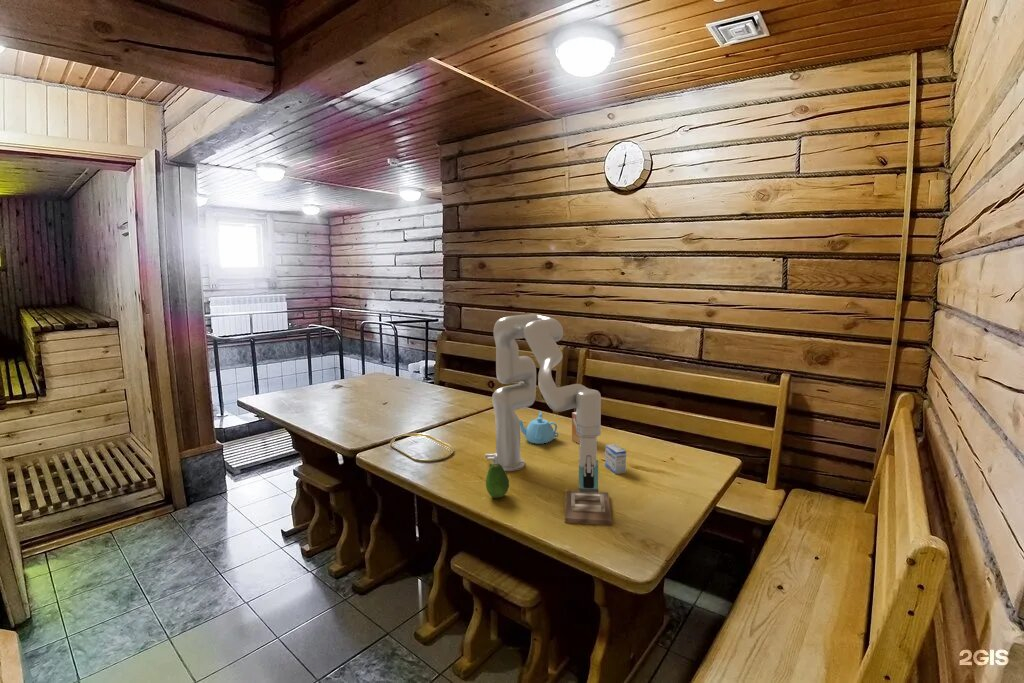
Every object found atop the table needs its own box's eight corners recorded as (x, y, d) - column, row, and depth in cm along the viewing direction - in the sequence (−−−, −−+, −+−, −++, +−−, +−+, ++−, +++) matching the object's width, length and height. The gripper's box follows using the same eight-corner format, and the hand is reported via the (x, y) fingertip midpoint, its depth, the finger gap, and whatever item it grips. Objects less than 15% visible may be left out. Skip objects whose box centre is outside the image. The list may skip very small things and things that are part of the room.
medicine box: (604, 466, 186) (604, 445, 185) (614, 464, 188) (615, 443, 187) (615, 474, 179) (616, 452, 178) (626, 472, 181) (626, 450, 179)
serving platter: (419, 433, 227) (419, 430, 227) (462, 454, 201) (462, 451, 201) (382, 443, 215) (382, 440, 215) (423, 467, 189) (423, 463, 189)
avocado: (481, 497, 164) (480, 463, 162) (498, 489, 169) (497, 456, 167) (497, 505, 158) (496, 470, 156) (514, 496, 164) (513, 463, 162)
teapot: (563, 440, 214) (563, 418, 212) (537, 449, 204) (537, 426, 203) (540, 432, 225) (540, 411, 223) (515, 439, 216) (515, 417, 214)
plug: (578, 491, 152) (578, 464, 150) (578, 486, 156) (578, 459, 154) (598, 492, 151) (598, 465, 150) (597, 486, 155) (597, 460, 154)
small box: (571, 440, 214) (571, 412, 212) (583, 438, 216) (583, 410, 214) (581, 446, 207) (582, 417, 204) (594, 443, 209) (594, 415, 207)
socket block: (565, 522, 147) (565, 513, 146) (566, 494, 164) (566, 486, 164) (611, 525, 145) (612, 515, 144) (608, 496, 163) (608, 487, 162)
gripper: (576, 420, 159) (576, 472, 162) (576, 438, 143) (576, 496, 145) (599, 420, 158) (599, 473, 161) (602, 438, 142) (601, 497, 144)
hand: (588, 483), depth 153 cm, fingers closed on plug, 4 cm apart
